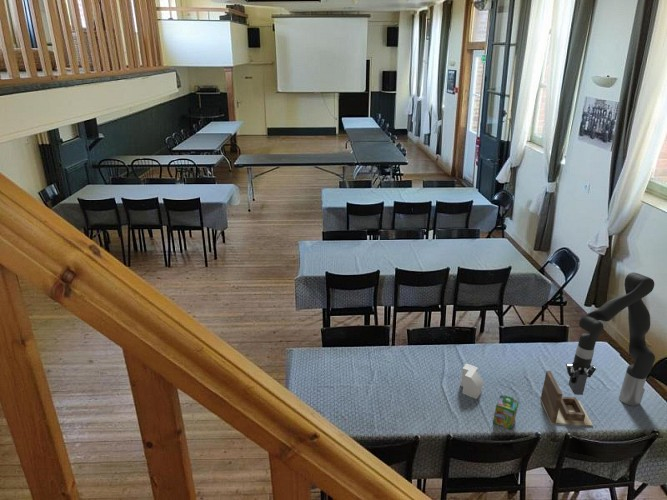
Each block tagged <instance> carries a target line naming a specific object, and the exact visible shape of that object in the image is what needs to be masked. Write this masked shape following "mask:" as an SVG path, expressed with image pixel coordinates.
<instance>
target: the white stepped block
mask: <svg viewBox="0 0 667 500" xmlns="http://www.w3.org/2000/svg"><path fill="white" fill-rule="evenodd" d="M478 369H479V368H478V367H477V366H474V365H472V364H469V363H466V364H464V366H463V367H462V371H461V372H462V373H461V378H460V379H461V380H460V387H462V386H463V387H462V394H463V395H465V394H466V395H465V396H468V397H471V398H473V399H475V400H478V399H479V396H480V395H481V394H482V391H483V385H484V384H483V383H484V380H483V378H482V377H481V376H480V375H479V373H478Z"/></svg>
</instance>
